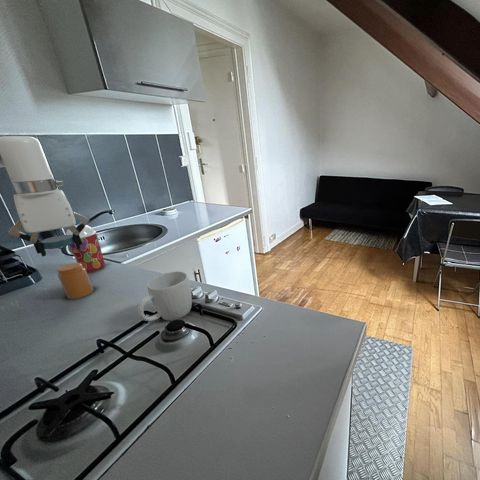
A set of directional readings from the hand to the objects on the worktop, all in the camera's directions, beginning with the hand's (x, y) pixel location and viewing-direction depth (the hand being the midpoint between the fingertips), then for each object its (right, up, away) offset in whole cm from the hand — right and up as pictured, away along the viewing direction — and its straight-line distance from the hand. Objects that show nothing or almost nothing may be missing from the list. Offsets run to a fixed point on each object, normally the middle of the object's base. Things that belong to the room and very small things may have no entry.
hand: (62, 250), depth 73 cm
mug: (+35, -17, -7) cm, 39 cm away
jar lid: (0, +3, -1) cm, 3 cm away
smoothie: (-9, -8, +21) cm, 25 cm away
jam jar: (+1, -14, +5) cm, 15 cm away
